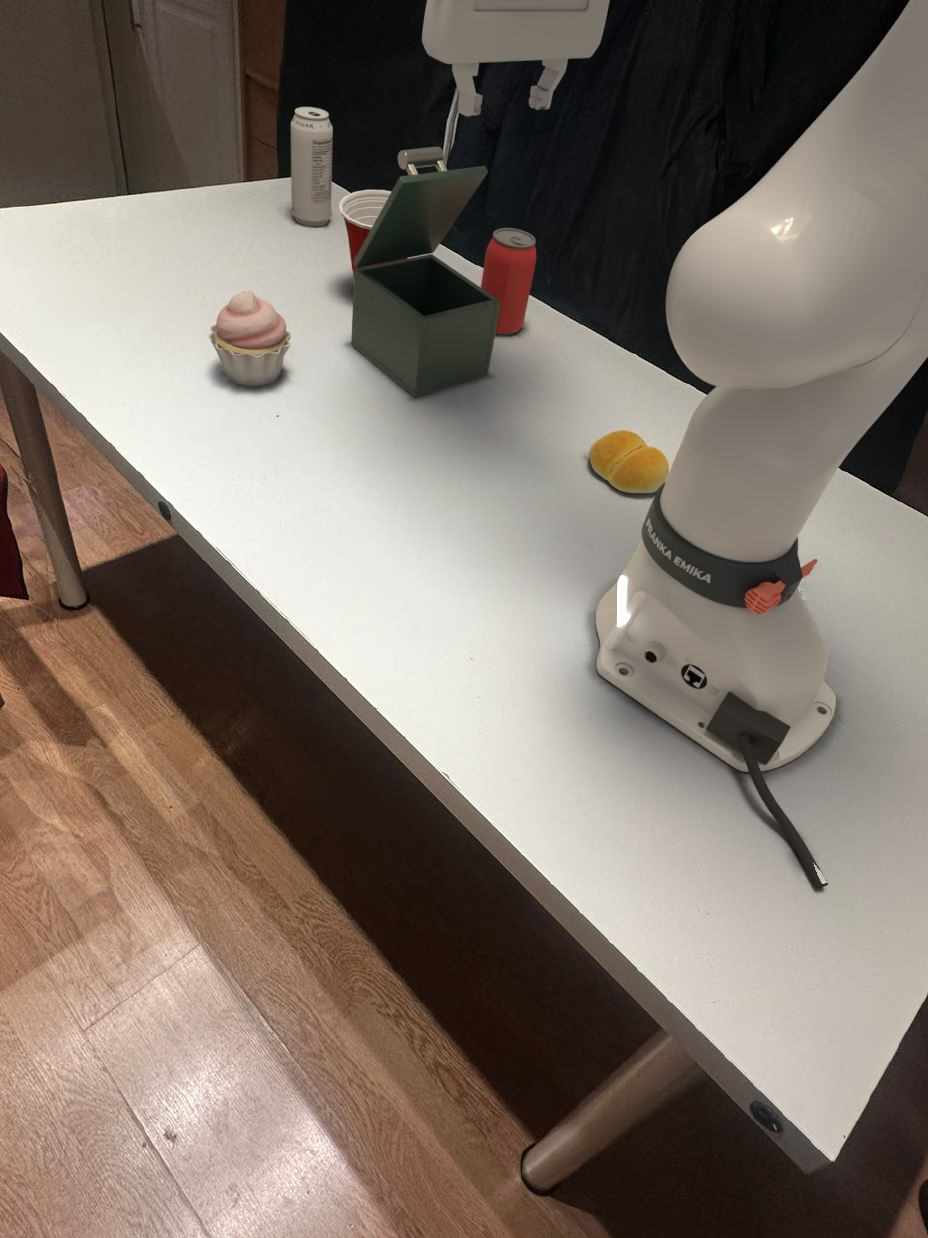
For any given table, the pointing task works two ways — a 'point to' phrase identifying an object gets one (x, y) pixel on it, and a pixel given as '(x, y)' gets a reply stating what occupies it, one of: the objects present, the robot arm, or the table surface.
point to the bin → (423, 323)
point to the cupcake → (250, 340)
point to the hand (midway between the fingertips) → (504, 111)
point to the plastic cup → (361, 217)
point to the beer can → (510, 275)
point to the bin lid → (419, 208)
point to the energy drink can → (311, 166)
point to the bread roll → (629, 462)
